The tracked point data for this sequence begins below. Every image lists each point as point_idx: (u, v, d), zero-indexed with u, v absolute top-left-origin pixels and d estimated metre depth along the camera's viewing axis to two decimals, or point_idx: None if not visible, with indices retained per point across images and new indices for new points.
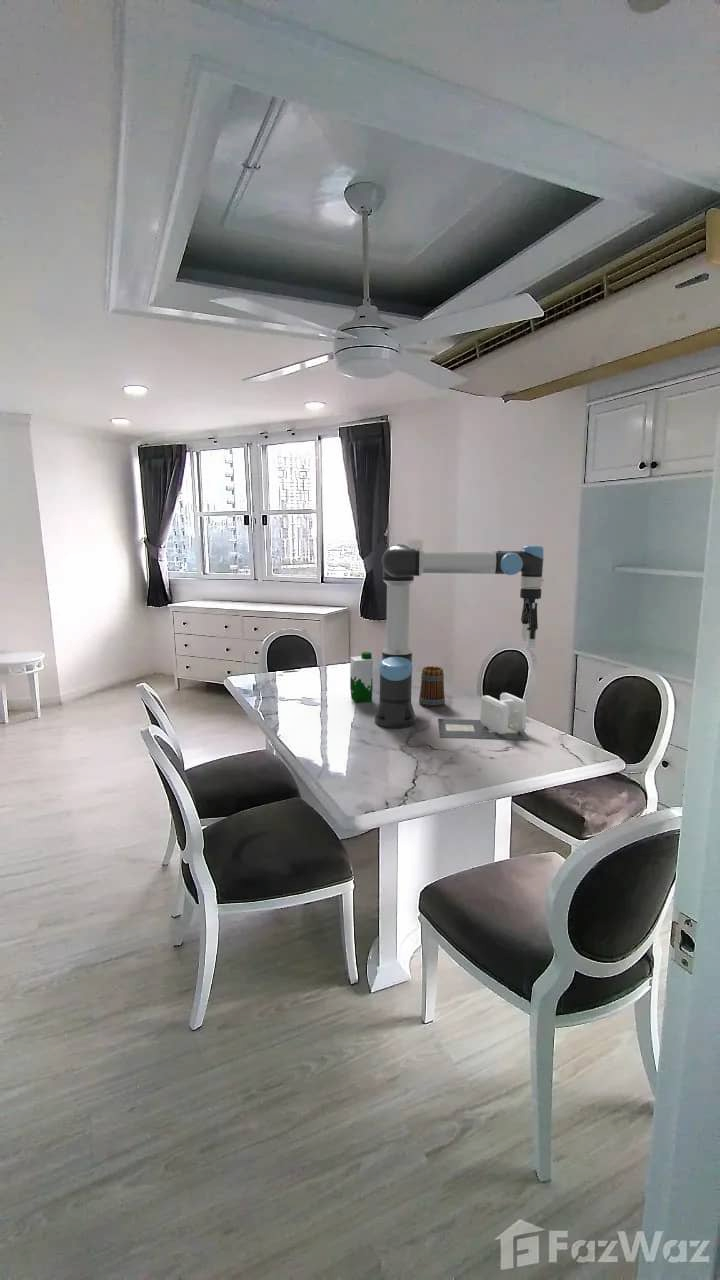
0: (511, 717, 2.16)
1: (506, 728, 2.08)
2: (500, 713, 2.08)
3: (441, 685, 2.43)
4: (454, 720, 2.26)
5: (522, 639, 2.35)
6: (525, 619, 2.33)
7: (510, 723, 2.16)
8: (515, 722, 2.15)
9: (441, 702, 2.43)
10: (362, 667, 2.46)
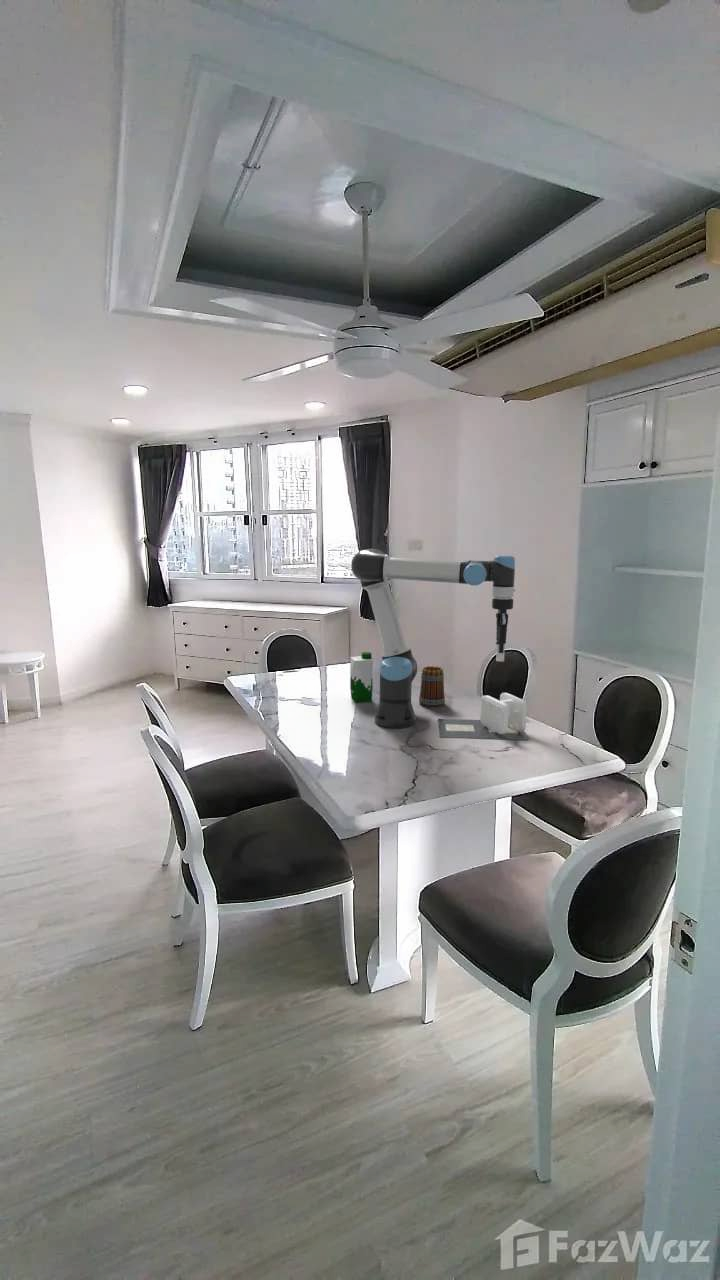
0: (511, 717, 2.16)
1: (506, 728, 2.08)
2: (500, 713, 2.08)
3: (441, 685, 2.43)
4: (454, 720, 2.26)
5: None
6: None
7: (510, 723, 2.16)
8: (515, 722, 2.15)
9: (441, 702, 2.43)
10: (362, 667, 2.46)
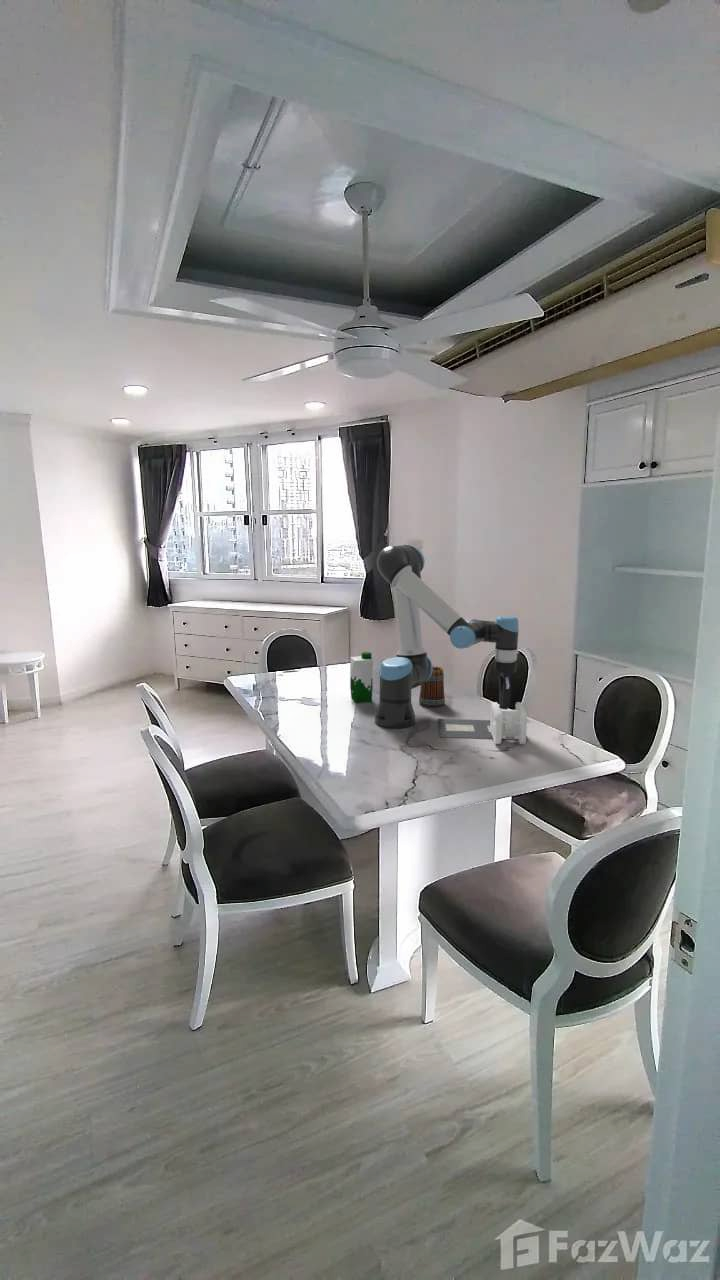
0: (516, 729, 2.04)
1: (499, 738, 1.99)
2: (495, 722, 2.00)
3: (441, 685, 2.43)
4: (454, 720, 2.26)
5: None
6: None
7: (514, 734, 2.04)
8: (518, 734, 2.03)
9: (441, 702, 2.43)
10: (362, 667, 2.46)
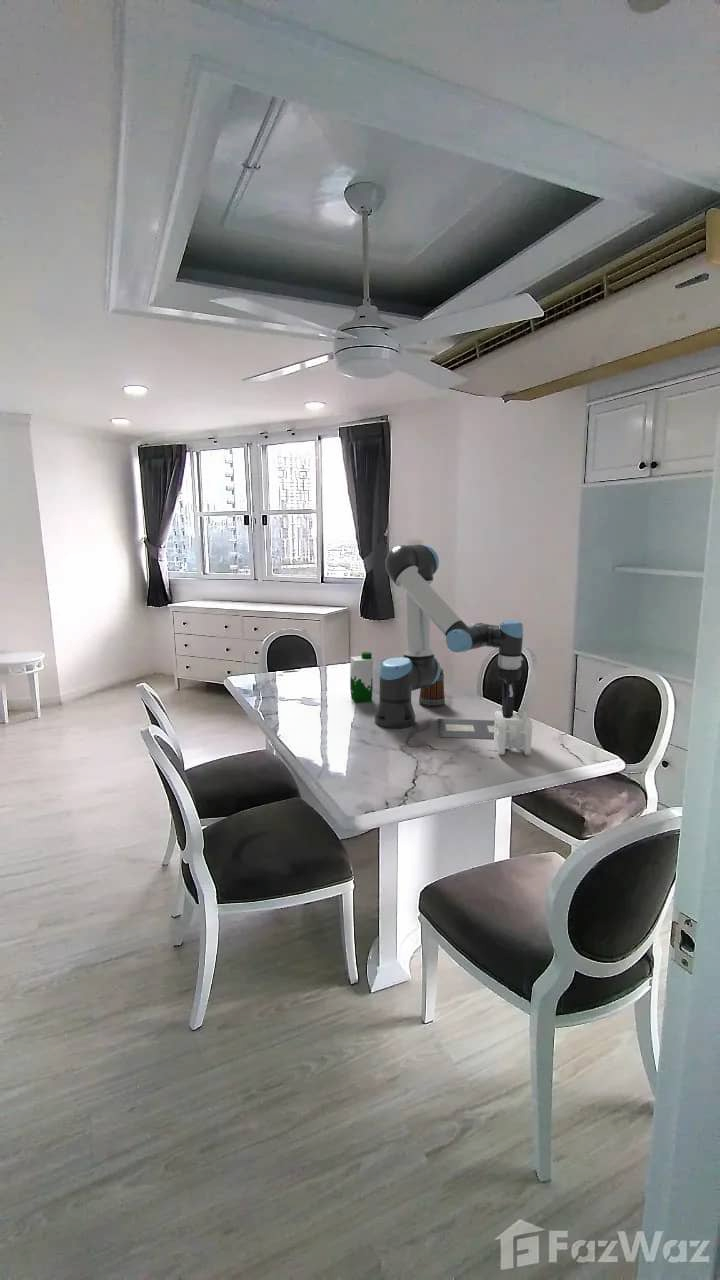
0: (520, 739, 1.95)
1: (502, 748, 1.90)
2: (498, 731, 1.91)
3: (441, 685, 2.43)
4: (454, 720, 2.26)
5: None
6: None
7: (519, 745, 1.95)
8: (523, 744, 1.93)
9: (441, 702, 2.43)
10: (362, 667, 2.46)
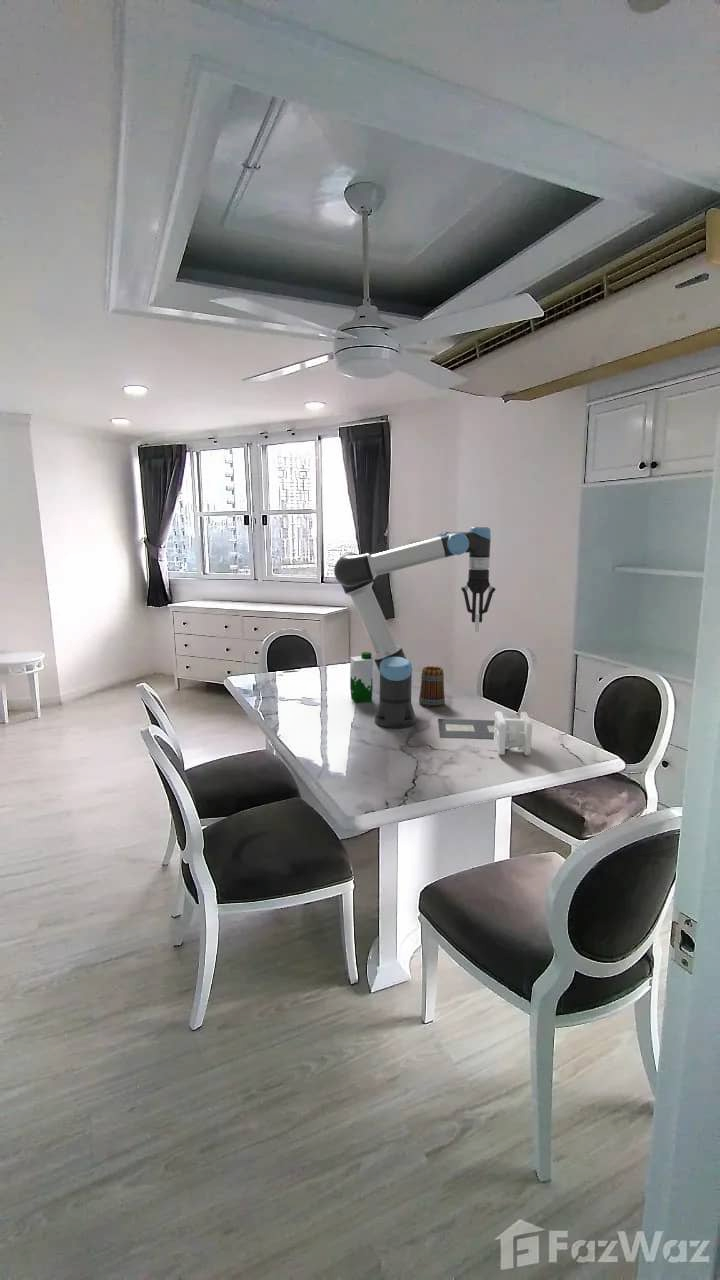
0: (520, 739, 1.95)
1: (502, 749, 1.89)
2: (498, 732, 1.91)
3: (441, 685, 2.43)
4: (454, 720, 2.26)
5: None
6: (479, 606, 2.29)
7: (519, 745, 1.95)
8: (523, 745, 1.93)
9: (441, 702, 2.43)
10: (362, 667, 2.46)
